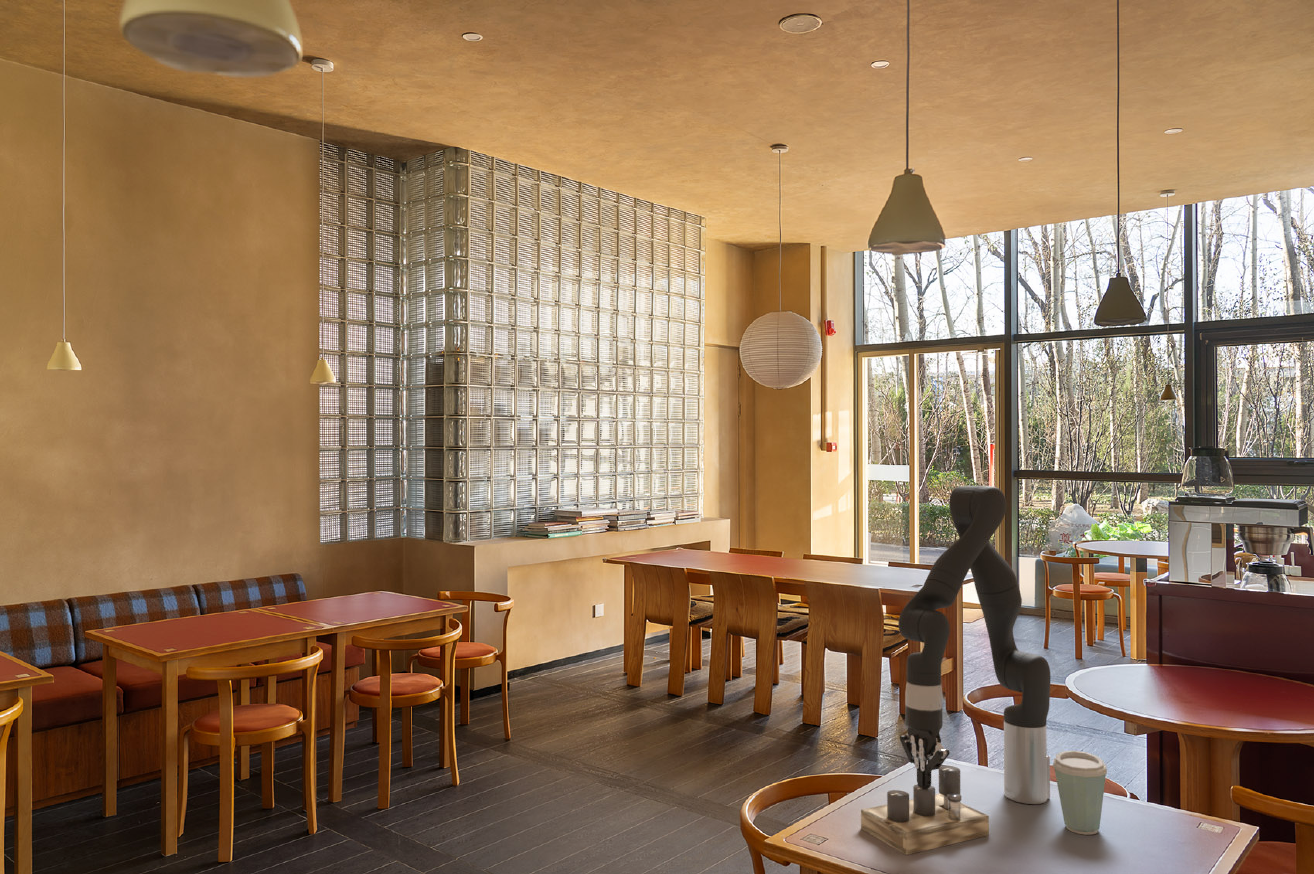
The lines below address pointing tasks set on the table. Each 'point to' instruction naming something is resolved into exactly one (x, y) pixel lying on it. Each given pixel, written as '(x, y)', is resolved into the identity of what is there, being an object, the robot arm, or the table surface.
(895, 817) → the knob
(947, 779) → the knob
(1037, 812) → the table surface
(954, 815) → the capped glass vial
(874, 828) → the mount
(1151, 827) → the table surface
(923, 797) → the knob mid
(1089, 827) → the disposable coffee cup
